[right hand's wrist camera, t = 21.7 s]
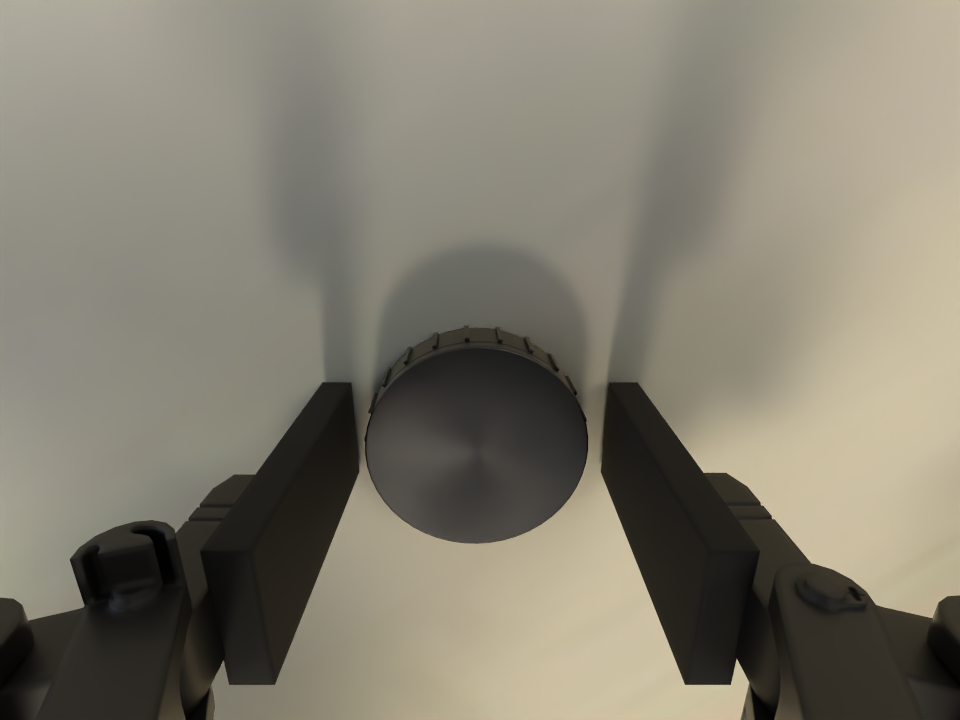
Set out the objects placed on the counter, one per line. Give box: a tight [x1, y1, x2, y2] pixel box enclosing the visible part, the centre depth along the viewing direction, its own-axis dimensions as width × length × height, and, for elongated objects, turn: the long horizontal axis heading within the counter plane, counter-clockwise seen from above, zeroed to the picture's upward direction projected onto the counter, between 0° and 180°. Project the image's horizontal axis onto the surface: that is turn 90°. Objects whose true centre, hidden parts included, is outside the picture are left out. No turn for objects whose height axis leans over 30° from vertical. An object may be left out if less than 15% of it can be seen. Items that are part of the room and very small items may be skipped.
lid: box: [365, 325, 588, 544], centre depth 14 cm, size 6×6×2 cm
